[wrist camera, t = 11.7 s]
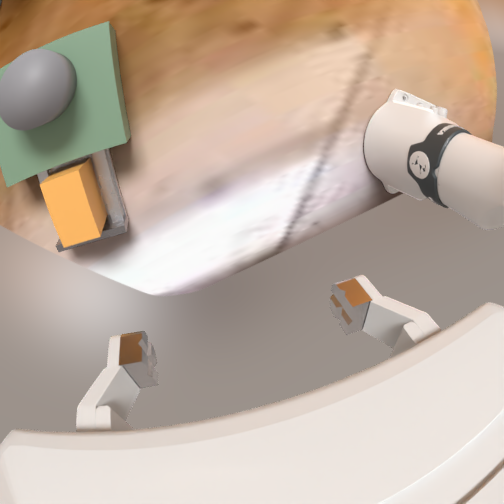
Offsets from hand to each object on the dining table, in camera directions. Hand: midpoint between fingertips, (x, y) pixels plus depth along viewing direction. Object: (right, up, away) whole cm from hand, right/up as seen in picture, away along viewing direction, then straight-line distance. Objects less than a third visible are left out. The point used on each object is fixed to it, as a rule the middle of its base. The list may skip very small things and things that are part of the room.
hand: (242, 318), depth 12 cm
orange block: (-21, +10, +19) cm, 30 cm away
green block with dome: (-22, +20, +13) cm, 33 cm away
